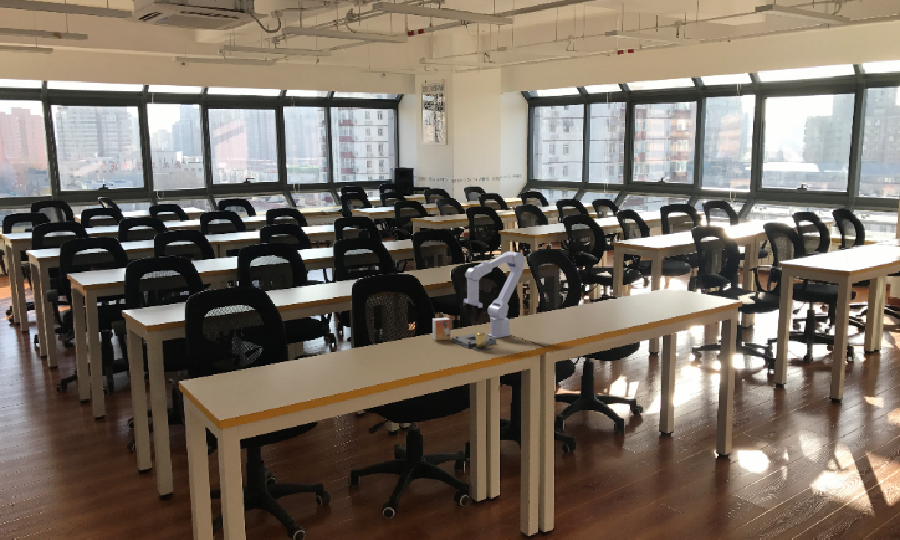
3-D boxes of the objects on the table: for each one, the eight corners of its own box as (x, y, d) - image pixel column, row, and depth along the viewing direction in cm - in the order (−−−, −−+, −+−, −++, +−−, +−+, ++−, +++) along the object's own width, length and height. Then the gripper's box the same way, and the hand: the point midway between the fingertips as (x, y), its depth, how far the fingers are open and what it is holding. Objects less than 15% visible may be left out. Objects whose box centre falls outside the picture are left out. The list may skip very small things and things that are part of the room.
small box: (435, 341, 355) (434, 320, 353) (432, 338, 360) (432, 318, 358) (450, 339, 357) (450, 319, 355) (447, 337, 362) (447, 317, 360)
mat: (482, 346, 343) (482, 345, 343) (490, 349, 337) (490, 348, 337) (470, 348, 340) (470, 347, 340) (478, 351, 334) (478, 350, 334)
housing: (479, 336, 361) (478, 332, 361) (496, 343, 348) (496, 338, 347) (451, 341, 354) (451, 336, 353) (468, 348, 340) (468, 343, 339)
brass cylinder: (481, 346, 342) (481, 331, 341) (487, 348, 338) (487, 333, 337) (473, 347, 339) (473, 333, 338) (479, 349, 335) (479, 335, 334)
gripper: (458, 290, 356) (458, 317, 358) (473, 295, 344) (473, 323, 346) (470, 289, 360) (470, 316, 362) (486, 294, 347) (485, 321, 349)
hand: (472, 319), depth 354 cm, fingers open, 7 cm apart
